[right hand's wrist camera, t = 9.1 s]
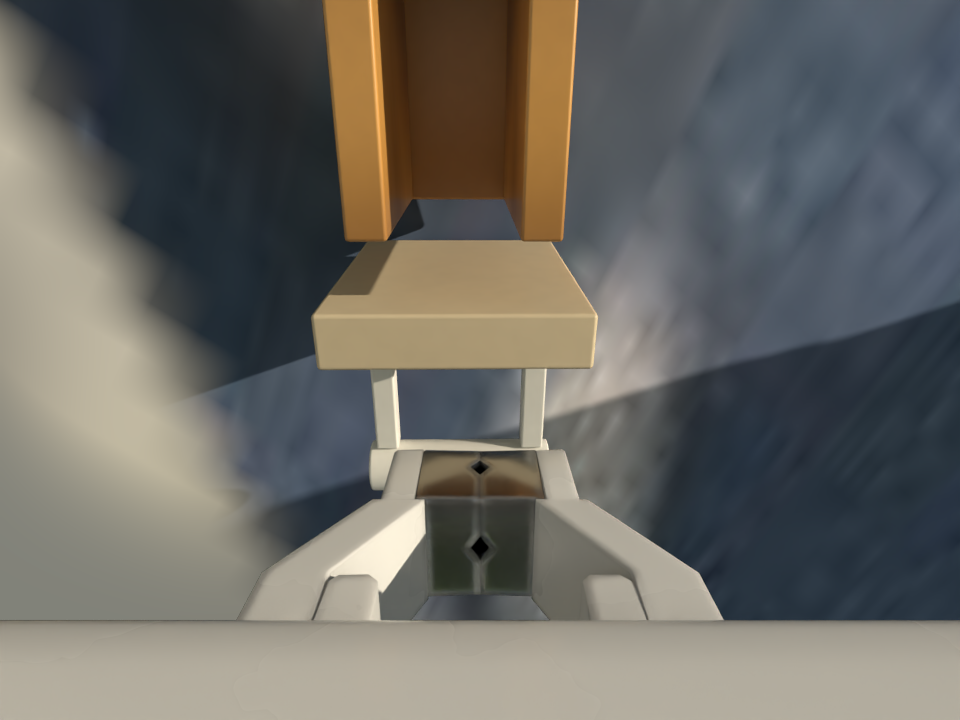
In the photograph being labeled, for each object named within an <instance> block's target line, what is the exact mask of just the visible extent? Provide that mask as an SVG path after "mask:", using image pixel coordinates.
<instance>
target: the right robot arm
mask: <svg viewBox="0 0 960 720" xmlns="http://www.w3.org/2000/svg"><path fill="white" fill-rule="evenodd" d="M448 595H511V596H532V599H533V601H534V602H535V603H536V604H537V605H538V607H539V608H540V609H541V610H542V612H543V613H544V614H545V615H546V616H547V618H548V619H549V620H411V619H412V618H413V617H414V616H415V615H416V613H417V612H418V611H419V610H420V608H421V607H422V606H423V605H424V604H425V602H426V601H427V600H428V596H448ZM0 720H960V620H723V618H722V616H721V614H720V612H719V610H718V608H717V606H716V604H715V603H714V601H713V599H712V597H711V595H710V593H709V591H708V589H707V587H706V585H705V584H704V582H703V580H702V578H701V576H700V574H699V573H698V572H697V571H695V570H694V569H692V568H691V567H689V566H688V565H686V564H685V563H683V562H682V561H680V560H678V559H677V558H675V557H674V556H672V555H671V554H669V553H668V552H666V551H665V550H663V549H662V548H660V547H659V546H657V545H656V544H654V543H653V542H651V541H650V540H648V539H647V538H645V537H644V536H642V535H641V534H639V533H638V532H636V531H635V530H633V529H631V528H630V527H628V526H627V525H625V524H624V523H622V522H621V521H619V520H618V519H616V518H615V517H613V516H612V515H610V514H609V513H607V512H606V511H604V510H603V509H601V508H600V507H598V506H597V505H595V504H594V503H592V502H591V501H589V500H588V499H579V497H578V493H577V490H576V487H575V483H574V480H573V476H572V473H571V470H570V466H569V463H568V460H567V456H566V453H565V451H564V450H562V449H556V450H510V451H453V450H425V451H424V450H423V449H417V450H397V451H396V452H395V453H394V456H393V459H392V462H391V466H390V469H389V473H388V476H387V480H386V483H385V486H384V490H383V493H382V497H381V499H372V500H371V501H369V502H368V503H366V504H365V505H363V506H362V507H360V508H359V509H357V510H356V511H354V512H353V513H351V514H350V515H348V516H347V517H345V518H344V519H342V520H340V521H339V522H337V523H336V524H334V525H333V526H331V527H330V528H328V529H327V530H325V531H324V532H322V533H321V534H319V535H318V536H316V537H315V538H313V539H312V540H310V541H309V542H307V543H305V544H304V545H302V546H301V547H299V548H298V549H296V550H295V551H293V552H292V553H290V554H289V555H287V556H286V557H284V558H283V559H281V560H280V561H278V562H277V563H275V564H274V565H272V566H270V567H269V568H267V569H266V570H264V571H263V572H262V573H261V575H260V577H259V578H258V580H257V582H256V584H255V586H254V588H253V590H252V592H251V593H250V595H249V597H248V599H247V601H246V603H245V605H244V607H243V609H242V610H241V612H240V614H239V616H238V618H237V620H0Z"/></svg>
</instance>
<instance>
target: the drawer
mask: <svg viewBox="0 0 960 720" xmlns="http://www.w3.org/2000/svg"><path fill="white" fill-rule="evenodd" d="M322 5H323V16H324V26H325V37H326V47H327V58H328V68H329V79H330V90H331V100H332V111H333V121H334V132H335V142H336V153H337V163H338V174H339V184H340V195H341V205H342V216H343V226H344V237H345V240H346V241H348V242H367V243H366V244H365V246H364V247H363V248H362V250H361V251H360V252H359V254H358V255H357V256H356V258H355V259H354V260H353V262H352V263H351V264H350V266H349V267H348V268H347V270H346V271H345V272H344V273H343V275H342V276H341V277H340V279H339V280H338V281H337V283H336V284H335V285H334V287H333V288H332V289H331V291H330V292H329V293H328V295H327V296H326V297H325V299H324V300H323V301H322V302H321V304H320V305H319V306H318V308H317V309H316V310H315V312H314V313H313V314H312V317H311V322H312V330H313V337H314V345H315V353H316V361H317V367H318V369H320V370H371V382H372V394H373V406H374V418H375V430H376V440H374V441H373V443H372V445H371V450H370V458H369V479H370V485H371V488H372V489H373V490H384V486H385V483H386V480H387V476H388V473H389V469H390V466H391V462H392V459H393V456H394V453H395V452H396V451H397V450H417V449H423V450H424V451H425V450H453V451H510V450H549V448H548V443H547V441H546V439H542V437H543V420H544V403H545V385H546V369H589V368H592V366H593V362H594V352H595V341H596V331H597V320H598V316H597V314H596V312H595V311H594V309H593V307H592V306H591V304H590V303H589V301H588V300H587V298H586V296H585V295H584V293H583V292H582V290H581V288H580V287H579V285H578V284H577V282H576V281H575V279H574V277H573V276H572V274H571V273H570V271H569V270H568V268H567V266H566V265H565V263H564V262H563V260H562V259H561V257H560V255H559V254H558V252H557V251H556V249H555V248H554V246H553V244H552V243H551V242H560V241H562V239H563V231H564V216H565V200H566V185H567V169H568V154H569V139H570V123H571V108H572V92H573V77H574V61H575V46H576V30H577V15H578V0H322ZM412 199H504V200H505V202H506V204H507V207H508V209H509V211H510V214H511V216H512V219H513V221H514V223H515V226H516V228H517V231H518V233H519V235H520V238H521V240H387V239H388V237H389V236H390V234H391V232H392V231H393V229H394V228H395V226H396V224H397V223H398V221H399V220H400V218H401V216H402V215H403V213H404V212H405V210H406V208H407V207H408V205H409V203H410V202H411V200H412ZM411 369H522V375H521V401H520V427H519V438H520V439H427V440H400V423H399V407H398V391H397V376H396V370H411Z"/></svg>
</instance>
